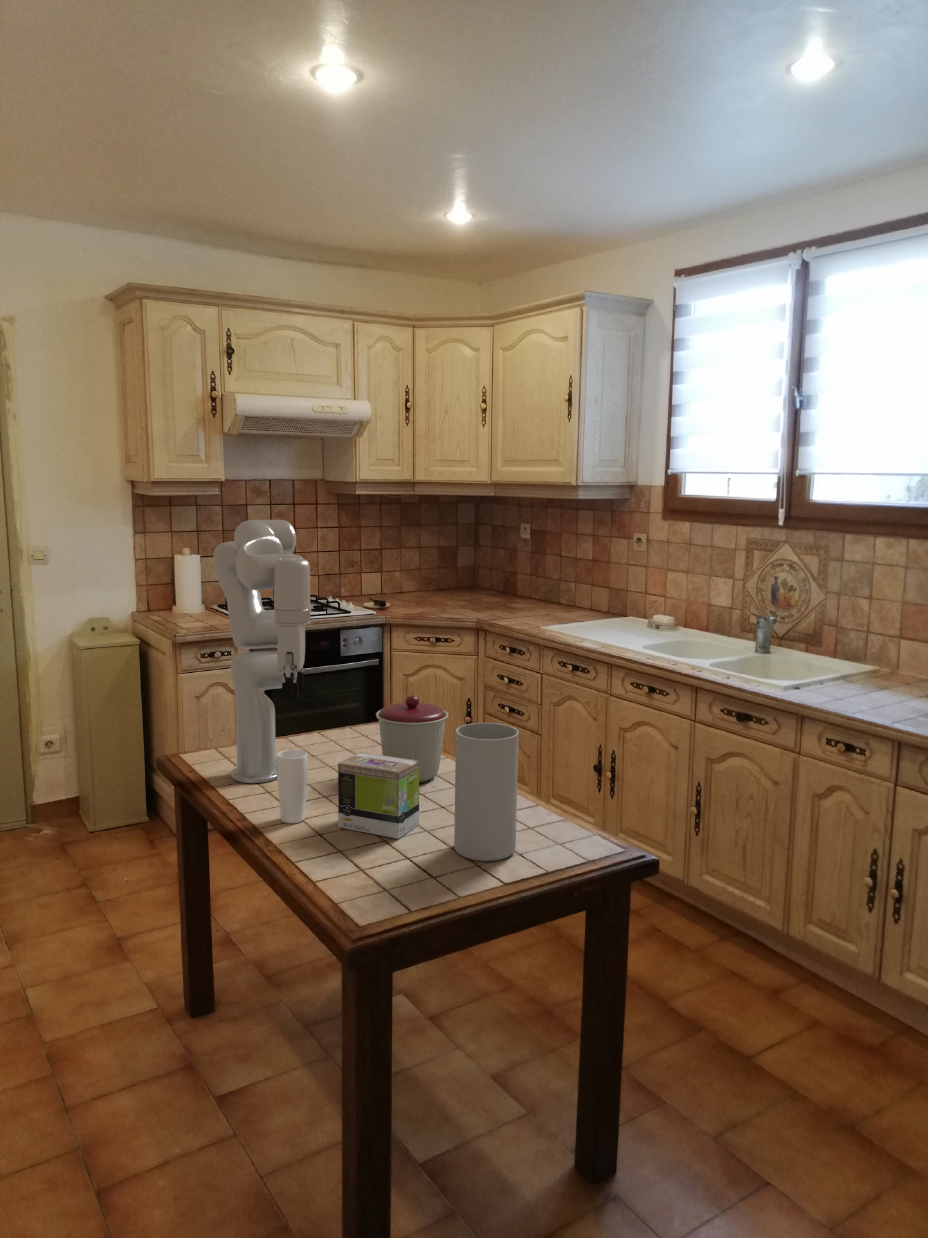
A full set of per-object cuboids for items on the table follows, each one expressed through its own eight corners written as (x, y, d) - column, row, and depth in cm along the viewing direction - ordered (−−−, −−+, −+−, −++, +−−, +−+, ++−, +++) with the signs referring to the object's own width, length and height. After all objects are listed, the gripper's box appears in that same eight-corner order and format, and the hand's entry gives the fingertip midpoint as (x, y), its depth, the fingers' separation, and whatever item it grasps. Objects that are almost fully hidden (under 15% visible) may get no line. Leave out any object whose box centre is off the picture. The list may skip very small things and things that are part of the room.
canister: (434, 763, 240) (435, 685, 236) (457, 784, 223) (458, 701, 220) (367, 769, 233) (368, 690, 230) (386, 792, 216) (387, 707, 213)
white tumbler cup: (301, 827, 194) (300, 759, 192) (272, 824, 195) (271, 757, 193) (313, 815, 201) (312, 750, 198) (284, 813, 202) (283, 748, 200)
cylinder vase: (455, 837, 190) (457, 722, 186) (514, 839, 189) (517, 723, 186) (452, 862, 177) (454, 739, 174) (516, 864, 177) (519, 740, 173)
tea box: (420, 825, 196) (421, 759, 194) (398, 841, 187) (398, 772, 185) (361, 813, 203) (361, 749, 200) (336, 828, 194) (336, 762, 191)
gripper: (280, 610, 199) (280, 685, 202) (268, 623, 182) (269, 705, 185) (314, 610, 200) (314, 686, 202) (305, 623, 183) (306, 705, 185)
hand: (293, 695), depth 194 cm, fingers open, 9 cm apart
